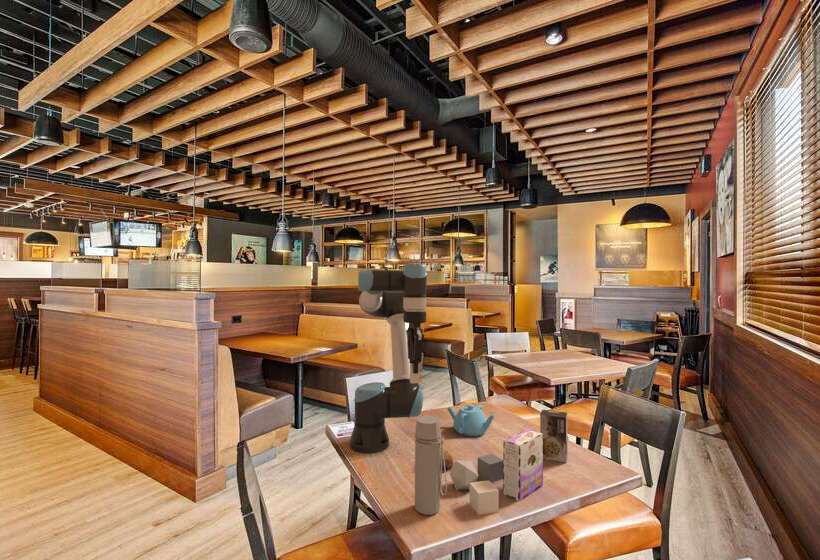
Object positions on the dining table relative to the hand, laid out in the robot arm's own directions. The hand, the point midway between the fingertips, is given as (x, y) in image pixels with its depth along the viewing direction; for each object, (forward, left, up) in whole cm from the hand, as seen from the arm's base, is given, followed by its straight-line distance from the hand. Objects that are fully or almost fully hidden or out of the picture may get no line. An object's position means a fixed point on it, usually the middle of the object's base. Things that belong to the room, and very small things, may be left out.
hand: (414, 382), depth 134 cm
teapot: (-33, +34, -31) cm, 56 cm away
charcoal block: (+7, +24, -31) cm, 39 cm away
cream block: (+23, +14, -31) cm, 41 cm away
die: (+11, +13, -31) cm, 35 cm away
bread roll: (-5, +10, -31) cm, 33 cm away
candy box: (+17, +30, -31) cm, 46 cm away
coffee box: (-1, +53, -31) cm, 61 cm away
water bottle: (+21, -1, -31) cm, 37 cm away
